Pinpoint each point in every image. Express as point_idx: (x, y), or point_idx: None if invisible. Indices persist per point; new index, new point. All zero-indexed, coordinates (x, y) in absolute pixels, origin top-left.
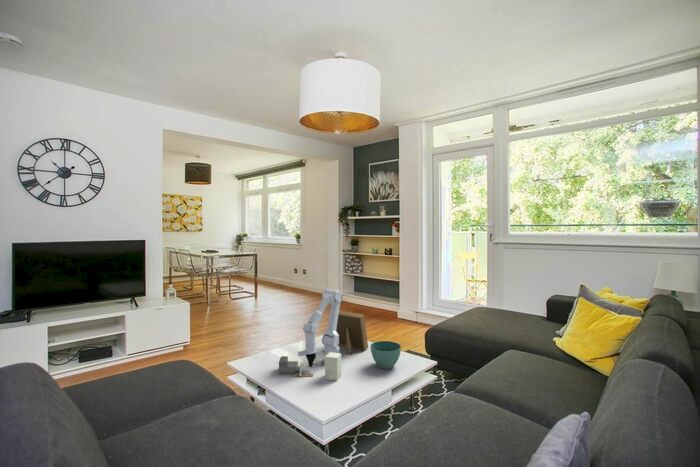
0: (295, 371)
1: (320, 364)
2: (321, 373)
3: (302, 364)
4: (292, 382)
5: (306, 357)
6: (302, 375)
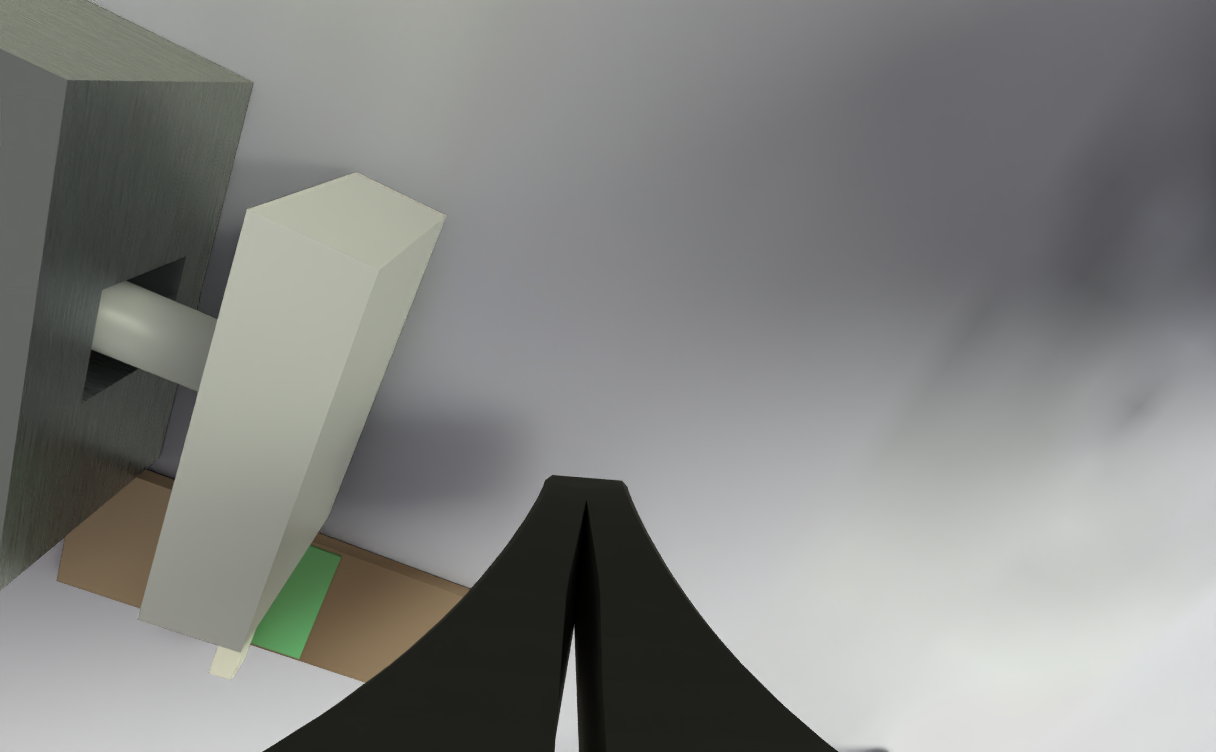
0: (98, 494)
1: (1069, 191)
2: (750, 672)
3: (267, 522)
4: (60, 748)
5: (375, 682)
6: (300, 628)
